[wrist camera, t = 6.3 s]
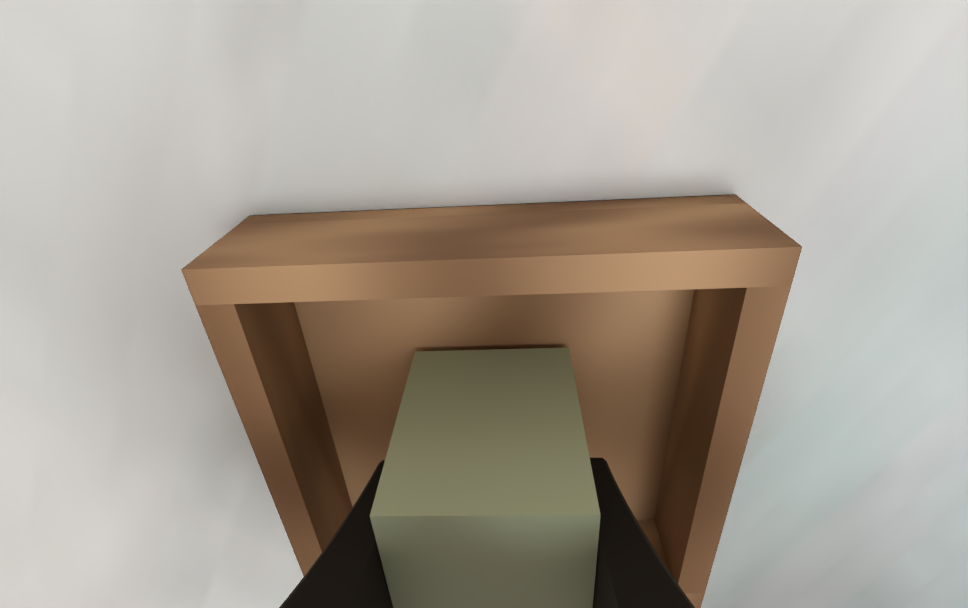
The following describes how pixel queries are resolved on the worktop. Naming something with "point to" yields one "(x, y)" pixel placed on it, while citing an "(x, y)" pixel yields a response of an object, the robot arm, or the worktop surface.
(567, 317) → the walnut tray
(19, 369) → the worktop surface
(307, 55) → the worktop surface
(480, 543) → the sage block
